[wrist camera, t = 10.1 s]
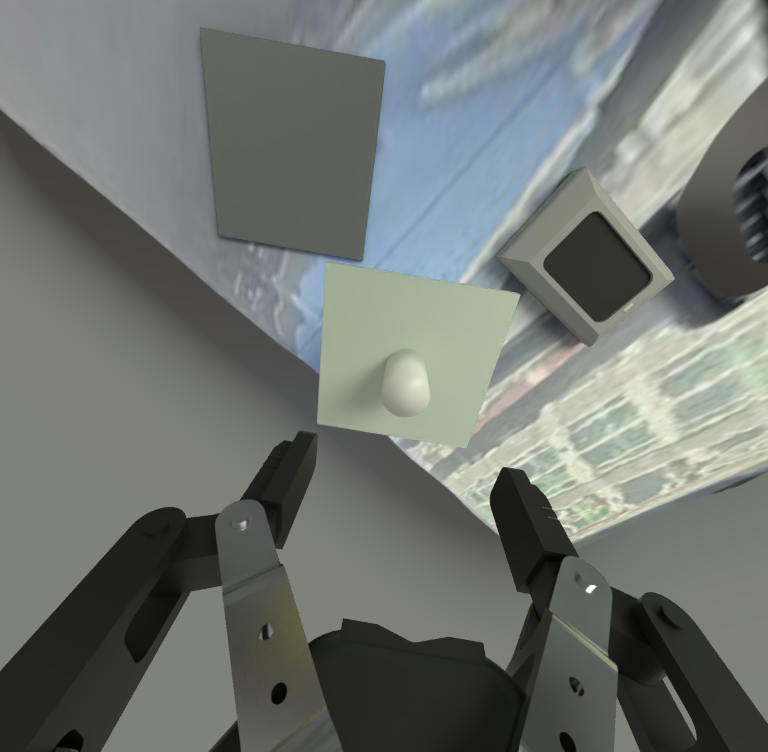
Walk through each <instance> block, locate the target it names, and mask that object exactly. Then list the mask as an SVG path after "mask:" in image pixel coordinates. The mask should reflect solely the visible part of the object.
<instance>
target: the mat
mask: <svg viewBox="0 0 768 752" xmlns="http://www.w3.org/2000/svg"><path fill="white" fill-rule="evenodd" d="M200 34H201V45H202V56H203V68H204V79H205V90H206V101H207V113H208V124H209V135H210V147H211V158H212V169H213V181H214V192H215V203H216V214H217V226H218V235H219V236H225V237H231V238H236V239H242V240H248V241H253V242H259V243H265V244H270V245H276V246H282V247H287V248H293V249H299V250H304V251H310V252H316V253H321V254H327V255H333V256H338V257H344V258H350V259H355V260H361V261H363V253H364V244H365V236H366V227H367V218H368V210H369V201H370V193H371V184H372V176H373V167H374V158H375V150H376V141H377V133H378V124H379V116H380V107H381V98H382V90H383V81H384V73H385V61H382V60H377V59H371V58H366V57H360V56H355V55H349V54H344V53H338V52H332V51H327V50H321V49H316V48H310V47H305V46H299V45H294V44H288V43H283V42H277V41H272V40H266V39H261V38H255V37H250V36H244V35H239V34H233V33H228V32H222V31H217V30H211V29H206V28H200Z"/></svg>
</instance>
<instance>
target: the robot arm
mask: <svg viewBox="0 0 768 752" xmlns="http://www.w3.org/2000/svg"><path fill="white" fill-rule="evenodd" d="M317 439H318V435H317V434H316V433H311V432H306V431H299V432H298V434H297V435H296V437H295V439H294V441H293V442H290V441H285V440H284V441H283V442H282V443H280V444H279V445H278V446H276V447H275V448H274V449H273V450H272V452H271V453H270V455H269V456H268V459H267V460H266V461H265V463H264V464H263V467H261V469H260V470H259V472H258V473H257V475H256V476H255V478H254V479H253V481H252V482H251V484H250V486H249V487H248V489H247V490H246V492H245V493H244V495H243V496H242V498H241V499H240V500H239V501H237V502H234V503H232V504H230V505H229V506H227V507H226V508H225V509H223V510H222V511H221V513H218V514H215V515H208V516H200V517H191V518H186V515H185V513H184V512H183V511H182V510H181V509H178V508H175V507H165V508H160V509H157V510H154V511H152V512H149V513H147V514H146V515H144V516H142V517H141V518H139V519H138V520H137V521H136V522H135V523H134V524H133V525H132V526H131V527H130V528H129V529H128V530H127V531H126V533H125V534H124V535H123V536H122V537H121V538H120V539H119V540H118V541H117V542H116V543H115V545H114V546H113V547H112V548H111V549H110V550H109V551H108V552H107V553H106V555H105V556H104V557H103V558H102V559H101V560H100V561H99V562H98V563H97V564H96V566H95V567H94V568H93V569H92V570H91V571H90V572H89V573H88V575H87V576H86V577H85V578H84V579H83V580H82V581H81V582H80V583H79V584H78V586H77V587H76V588H75V589H74V590H73V591H72V592H71V593H70V594H69V596H68V597H67V598H66V599H65V600H64V601H63V602H62V603H61V604H60V606H59V607H58V608H57V609H56V610H55V611H54V612H53V613H52V614H51V616H50V617H49V618H48V619H47V620H46V621H45V622H44V623H43V624H42V625H41V627H40V628H39V629H38V630H37V631H36V632H35V633H34V634H33V636H32V637H31V638H30V639H29V640H28V641H27V642H26V643H25V644H24V645H23V647H22V648H21V649H20V650H19V651H18V652H17V653H16V654H15V655H14V656H13V658H12V659H11V660H10V661H9V662H8V663H7V664H6V665H5V666H4V667H3V669H2V670H1V671H0V752H101V750H102V748H103V747H104V745H105V743H106V741H107V740H108V738H109V736H110V734H111V732H112V730H113V729H114V727H115V725H116V723H117V721H118V720H119V718H120V716H121V715H122V713H123V711H124V709H125V708H126V706H127V704H128V702H129V700H130V699H131V697H132V695H133V693H134V691H135V690H136V688H137V686H138V685H139V683H140V681H141V679H142V677H143V676H144V674H145V672H146V670H147V669H148V667H149V665H150V663H151V661H152V660H153V658H154V656H155V654H156V653H157V651H158V649H159V647H160V645H161V644H162V642H163V640H164V638H165V637H166V635H167V633H168V631H169V629H170V627H171V626H172V624H173V622H174V621H175V619H176V617H177V615H178V613H179V612H180V610H181V608H182V606H183V605H184V603H185V601H186V599H187V597H188V596H189V594H190V592H191V591H196V590H201V589H206V588H211V587H217V586H222V590H223V602H224V611H225V620H226V628H227V637H228V645H229V652H230V653H229V654H230V662H231V670H232V679H233V687H234V695H235V704H236V712H237V720H236V721H235V723H234V724H233V725H232V726H231V727H230V728H229V729H228V730H227V732H226V733H225V734H224V735H223V736H222V737H221V738H220V739H219V741H218V742H217V743H216V744H215V745H214V746H213V747H212V749H210V751H209V752H614V737H615V718H616V700H617V698H618V700H619V703H620V705H621V707H622V710H623V712H624V714H625V717H626V719H627V721H628V724H629V726H630V728H631V731H632V733H633V736H634V738H635V740H636V743H637V745H638V747H639V750H640V752H768V724H767V722H766V721H765V720H764V718H763V717H762V715H761V714H760V712H759V711H758V710H757V708H756V707H755V705H754V704H753V703H752V701H751V700H750V698H749V697H748V696H747V694H746V693H745V691H744V690H743V689H742V687H741V686H740V685H739V683H738V682H737V681H736V679H735V678H734V676H733V675H732V673H731V672H730V671H729V669H728V668H727V667H726V665H725V664H724V662H723V661H722V659H721V658H720V657H719V655H718V654H717V652H716V651H715V650H714V648H713V647H712V646H711V644H710V643H709V641H708V640H707V639H706V637H705V636H704V635H703V633H702V632H701V630H700V629H699V627H698V626H697V625H696V623H695V622H694V621H693V620H692V619H691V617H690V616H689V615H688V614H687V613H686V612H685V611H684V610H682V609H681V608H680V607H679V606H678V605H676V604H675V603H674V602H672V601H671V600H669V599H668V598H666V597H664V596H662V595H660V594H657V593H653V592H648V593H645V594H644V595H643V596H642V597H641V598H640V599H637V598H634V597H632V596H630V595H628V594H626V593H624V592H622V591H620V590H617V589H615V588H613V587H611V586H609V584H608V582H607V580H606V579H605V578H604V576H603V575H602V574H601V573H600V572H599V571H598V570H597V569H596V568H595V567H594V566H592V565H591V564H590V563H588V562H586V561H585V560H583V559H581V558H579V556H578V554H577V552H576V550H575V548H574V547H573V545H572V543H571V541H570V539H569V538H568V536H567V534H566V532H565V530H564V528H563V527H562V525H561V523H560V521H559V520H557V516H556V514H555V512H554V510H552V507H551V505H550V503H549V501H548V499H547V498H546V496H545V495H544V494H543V493H542V492H541V491H540V490H539V488H538V487H537V486H536V485H532V484H531V483H530V481H529V479H528V477H527V475H526V473H525V472H524V471H523V470H519V469H514V468H508V467H503V468H502V469H501V471H500V473H499V476H498V478H497V480H496V482H495V484H494V487H493V489H492V491H491V494H490V507H491V510H492V513H493V516H494V519H495V523H496V526H497V529H498V532H499V535H500V538H501V541H502V545H503V548H504V551H505V554H506V557H507V560H508V564H509V567H510V570H511V573H512V576H513V579H514V583H515V586H516V589H517V592H522V593H528V594H531V597H532V600H533V602H532V603H531V605H530V607H529V610H528V613H527V616H526V619H525V621H524V625H523V627H522V630H521V633H520V636H519V639H518V642H517V645H516V648H515V651H514V654H513V656H512V658H511V661H510V662H509V664H508V666H507V668H506V670H505V671H504V670H503V669H502V668H501V667H500V666H498V665H497V664H496V663H494V662H493V661H491V660H490V659H489V658H487V657H486V656H485V651H484V645H483V643H481V642H475V641H470V640H464V639H458V638H452V637H445V638H439V639H434V640H428V641H422V642H417V643H416V642H415V643H414V642H411V641H408V640H406V639H404V638H403V637H401V636H399V635H397V634H395V633H393V632H391V631H389V630H387V629H385V628H384V627H381V626H380V625H378V624H372V623H367V622H361V621H356V620H349V619H343V622H342V628H341V630H337V631H332V632H329V633H326V634H324V635H322V636H319V637H317V638H316V639H314V640H312V641H311V642H310V643H307V639H306V636H305V633H304V629H303V626H302V623H301V619H300V616H299V613H298V609H297V606H296V603H295V600H294V597H293V593H292V590H291V586H290V583H289V579H288V577H287V573H286V570H285V567H284V565H283V564H280V561H279V558H278V555H277V551H276V548H277V549H283V546H284V544H285V542H286V539H287V537H288V534H289V532H290V529H291V527H292V524H293V522H294V519H295V517H296V515H297V512H298V509H299V507H300V505H301V502H302V500H303V498H304V495H305V493H306V490H307V488H308V485H309V483H310V480H311V478H312V475H313V472H314V468H315V464H316V454H317ZM666 676H668V678H669V680H670V682H671V683H672V685H673V687H674V689H675V690H676V692H677V694H678V696H679V698H680V699H681V701H682V703H683V704H684V706H685V708H686V710H687V711H688V714H689V715H690V717H691V719H692V721H693V724H694V726H695V730H696V734H697V741H696V740H695V738H694V736H693V734H692V732H691V731H690V729H689V727H688V725H687V723H686V722H685V720H684V718H683V716H682V714H681V712H680V711H679V709H678V707H677V705H676V703H675V701H674V700H673V698H672V696H671V694H670V692H669V691H668V689H667V687H666V685H665V683H664V681H663V680H662V679H663V678H664V677H666Z"/></svg>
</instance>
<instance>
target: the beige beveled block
mask: <svg viewBox="0 0 768 752" xmlns="http://www.w3.org/2000/svg"><path fill="white" fill-rule="evenodd" d="M495 257H496V258H497V259H498V260H499V261H500V262H501V263H502V264H503V265H504V266H505V267H506V268H507V269H508V270H509V271H510V272H511V273H512V274H513V275H514V276H515V277H516V278H517V279H518V280H519V281H520V282H521V283H522V284H523V285H524V286H525V287H526V288H527V289H528V290H529V291H530V292H531V293H532V294H533V295H534V296H535V297H536V298H537V299H538V300H539V301H540V302H541V303H542V304H543V305H544V306H545V307H546V308H547V309H548V310H549V311H550V312H551V313H552V314H553V315H554V316H555V317H556V318H557V319H558V320H559V321H560V322H561V323H562V324H563V325H564V326H565V327H566V328H567V329H568V330H569V331H570V332H571V333H572V334H573V335H574V336H575V337H576V338H577V339H578V340H579V341H580V342H582V343H584V344H585V345H587V346H589V347H590V346H592V345H593V344H595V343H596V342H597V341H598V340H600V339H601V338H602V337H603V336H605V335H606V334H607V333H608V332H610V331H611V330H612V329H613V328H615V327H616V326H617V325H618V324H620V323H621V322H622V321H623V320H625V319H626V318H627V317H628V316H630V315H631V314H632V313H633V312H635V311H636V310H637V309H638V308H640V307H641V306H642V305H643V304H645V303H646V302H647V301H648V300H650V299H651V298H652V297H653V296H655V295H656V294H657V293H658V292H660V291H661V290H662V289H663V288H665V287H666V286H667V285H668V284H670V283H671V282H672V281H673V280H675V278H674V277H673V275H672V273H671V271H670V270H669V269H668V268H667V266H666V265H665V264H664V263H663V261H662V260H661V259H660V258H659V257H658V255H657V254H656V253H655V252H654V250H653V249H652V248H651V247H650V245H649V244H648V243H647V242H646V241H645V239H644V238H643V237H642V236H641V234H640V233H639V232H638V231H637V229H636V228H635V227H634V226H633V225H632V223H631V222H630V221H629V220H628V218H627V217H626V216H625V215H624V213H623V212H622V211H621V210H620V208H619V207H618V206H617V205H616V204H615V202H614V201H613V200H612V199H611V197H610V196H609V195H608V194H607V192H606V191H605V190H604V189H603V188H602V186H601V185H600V184H599V183H598V181H597V180H596V179H595V178H594V176H593V175H592V174H591V173H590V172H589V170H588V169H587V168H586V167H585V166H584V167H581V168H579V169H577V170H575V171H572V172H571V173H570V175H569V176H568V177H567V178H566V179H565V180H564V181H563V182H562V183H561V184H560V185H559V187H558V188H557V189H556V190H555V191H554V192H553V193H552V194H551V195H550V196H549V197H548V199H547V200H546V201H545V202H544V203H543V204H542V205H541V206H540V207H539V208H538V209H537V210H536V212H535V213H534V214H533V215H532V216H531V217H530V218H529V219H528V220H527V221H526V222H525V224H524V225H523V226H522V227H521V228H520V229H519V230H518V231H517V232H516V233H515V234H514V236H513V237H512V238H511V239H510V240H509V241H508V242H507V243H506V244H505V245H504V246H503V248H502V249H501V250H500V251H499V252H498V253H497V254H496V255H495Z"/></svg>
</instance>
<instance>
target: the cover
mask: <svg viewBox="0 0 768 752" xmlns="http://www.w3.org/2000/svg"><path fill="white" fill-rule="evenodd" d="M519 298H520V294H518V293H516V292H510V291H504V290H498V289H492V288H486V287H480V286H474V285H468V284H462V283H456V282H450V281H444V280H438V279H432V278H426V277H420V276H414V275H408V274H402V273H396V272H390V271H384V270H378V269H372V268H366V267H360V266H354V265H348V264H342V263H336V262H330V261H329V262H326V270H325V288H324V306H323V324H322V342H321V360H320V378H319V398H318V415H317V424H323V425H328V426H334V427H341V428H346V429H352V430H358V431H365V432H370V433H377V434H383V435H389V436H395V437H401V438H407V439H413V440H419V441H425V442H431V443H437V444H443V445H449V446H455V447H461V448H467V445H468V442H469V439H470V436H471V434H472V431H473V428H474V425H475V422H476V419H477V417H478V414H479V411H480V408H481V405H482V402H483V400H484V397H485V394H486V391H487V388H488V385H489V383H490V380H491V377H492V374H493V371H494V369H495V366H496V363H497V360H498V357H499V354H500V352H501V349H502V346H503V343H504V340H505V337H506V335H507V332H508V329H509V326H510V323H511V320H512V318H513V315H514V312H515V309H516V306H517V303H518V301H519Z"/></svg>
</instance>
